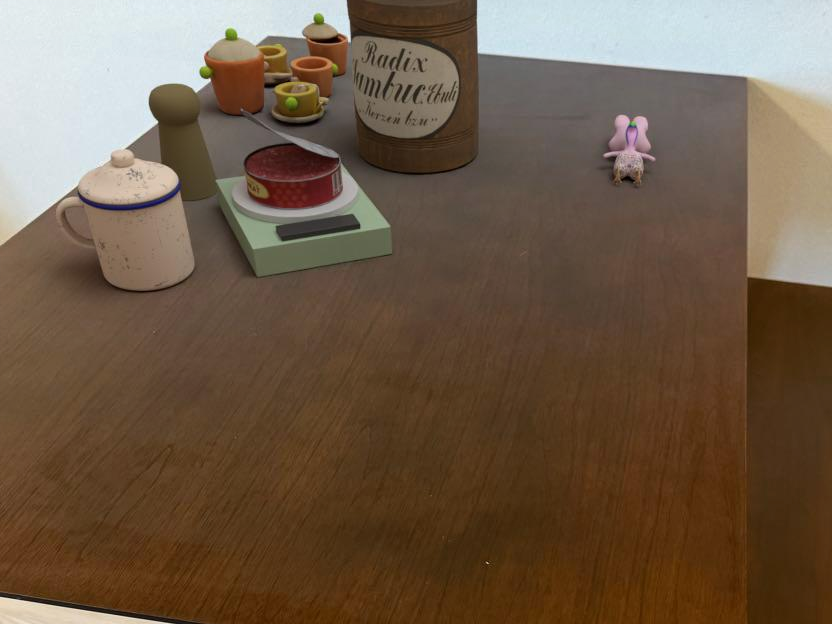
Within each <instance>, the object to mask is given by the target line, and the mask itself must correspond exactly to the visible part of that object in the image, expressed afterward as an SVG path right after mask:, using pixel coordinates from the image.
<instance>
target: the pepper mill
mask: <svg viewBox="0 0 832 624" xmlns="http://www.w3.org/2000/svg"><path fill="white" fill-rule="evenodd" d="M148 107H149V110H150V112H151V115H152V117H153V118H154V119H155V120H156V121H157V127H158V138H159V151H160V164H163V165H165V166H167V167H169V168H171V169H172V170H173V171H174V172H175V173H176V174H177V176H178V178H179V179H180V182H181V188H180V195H181V199H182V202H183V201H185V202H187V201H199V200H205V199H207V198H209V197H212V196H214V195H215V194H217V193H218V192H217V187H216V181H215V180H218V179H217V176H216V172H215V170H214V166H213V163H212V160H211V157H210V154H209V151H208V147H207V145H206V141H205V138H204V134H203V132H202V128H201V126H200V125H201V124H200V122H199V119H198V118H199V116H200V113H201V100H200V98H199V96H198V93H197V92H196V91H195V90H194V89H193V87H191V86H188V85H187V84H184V83H164V84H160V85H157V86H156V87H154V88H153V89H152V90H151V91H150V93H149V96H148Z"/></svg>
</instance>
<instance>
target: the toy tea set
mask: <svg viewBox="0 0 832 624" xmlns="http://www.w3.org/2000/svg"><path fill="white" fill-rule="evenodd" d="M312 18H313V22H312V23H309V24H308V25H306V26H305V27H304V28H303V29H302V31H301V35H302V36H303V37H304V38H305V39H306V44H307V49H308V52H309V56H303V57H298V58H295V59H293V60H292V61H290V64H289V65H290V67H289V66H288V51H287V49H286V48H285V47H283V45H282V44H280V43H275V44H274V45H268V44H265V45H259V46H256V44H255V45H254V44H253V43H252V42H251V41H249V40H247V39H245V38H242V37H238V33H237V30H236V29H234V28H232V27H230V28H227V29H226V30H225V33H224V36H225V37H224V38H221V39H219V40H218V41H216V42H215V43H214V44H213V45H212V46H211V48H210V49H208V50H207V51H206V52H205V53H204V55H203V59H204V63H205V65H204V66H201V67H200V68H199V71H198V72H199V76H200V77H201V78H202V79H204V80H210V82H211V86H212V89H213V93H214V95H215V99H216V103H217V105H218V108H219V109H220V110H221V111H222V112H223V113H226V114H229V115H235V116H245V115H244V114H243V112H242V111H241V109H242V110H244V111H246V112H248V113H250V114H251V115H253V114H256V113H258V112H261V110H263V108H264V106H265V85H275V87H274V89H273V93H274V96H275V99H276V102H277V104H275V105H273V106H272V108H271V109H270V110H271V115H272V117H273V118H274V119H277V120H279V121H281V122H284V123H290V124H303V123H310V122H312V121H315V120H318V119H320V118H321V117H323V115H324V112H325V110H324V107H323V106H328V105H330V98H328V97H330V96H331V94H332V89H333V88H332V87H333V77H336V76H337V77H338V76H340V75H342V74H344V73H346V71H347V64H348V63H347V61H348V44H349V37H348V36H347V35H345V34H344V33H340V32H338V30H337V29H336V28H335V27H334V26H333V25H331V24H330V23H327V22H325V17H324V15H323V14H322V13H320V12H319V13H315V14H314V15H313V17H312ZM289 80H290V81H289ZM288 81H289V82H288ZM277 84H278V85H277Z"/></svg>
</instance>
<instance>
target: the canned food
mask: <svg viewBox="0 0 832 624" xmlns="http://www.w3.org/2000/svg"><path fill="white" fill-rule="evenodd" d="M241 111H242V112H243V114H244V115H243V116H245V118H246V119H248V120H249V121H250V122H252V123H254V124H256V125H257V126H260V127H261V128H263V129H265V130H268V131H271V132H273V133H274V134H276V135H277V136H280V137H281V138H284V139H285V140H287V141H289V142H281V143H273V144H270V145H266V146H262V147H258V148H257V149H255V150H253V151H251V152H250V153H248V154H247V155H246V156H245V157H244V159H243V162H242V164H243V171H244V176H245V177H246V183H247V191H248V195H249V196H250V198H251V199H252V200H253V201H255V202H256V203H258V204H260V205H263V206H266V207H270V208H275V209H283V210H300V209H309V208H314V207H318V206H322V205H325V204H327V203H330V202H332V201H333V200H335V199H336V198H338V197H339V196H340V195H341V193H342V191H343V183H342V172H341V164H342V159H341V156H340V154H338V152H336V151H335V150H334V149H332V148H329V147H328V146H324V145H321V144H318V143H314V142H311V141H308V140H306V139H304V138H300V137H295V136H292V135H289V134H288V133H284V132H281V131H277V130H274V129H272V128H271V127H269V126H268V125H266V124H265V123H263V122H262V121H261V120H260V119H258V118H257V117H256V116H254V115H253V114H250V113H248V112H246V111H244V110H242V109H241Z"/></svg>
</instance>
